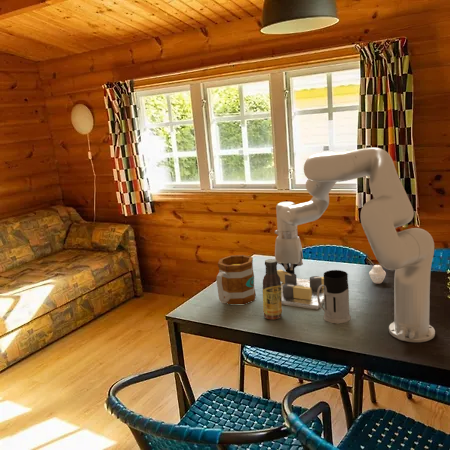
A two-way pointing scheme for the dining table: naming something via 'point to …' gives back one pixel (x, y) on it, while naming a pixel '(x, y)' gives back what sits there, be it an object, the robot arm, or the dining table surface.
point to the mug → (236, 279)
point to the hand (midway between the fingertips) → (290, 278)
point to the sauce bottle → (272, 291)
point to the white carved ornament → (377, 274)
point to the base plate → (303, 302)
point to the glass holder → (335, 296)
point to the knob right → (316, 282)
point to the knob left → (287, 277)
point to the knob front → (296, 292)
